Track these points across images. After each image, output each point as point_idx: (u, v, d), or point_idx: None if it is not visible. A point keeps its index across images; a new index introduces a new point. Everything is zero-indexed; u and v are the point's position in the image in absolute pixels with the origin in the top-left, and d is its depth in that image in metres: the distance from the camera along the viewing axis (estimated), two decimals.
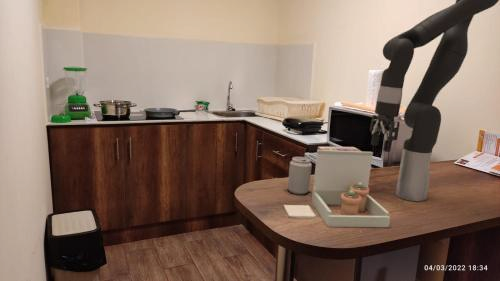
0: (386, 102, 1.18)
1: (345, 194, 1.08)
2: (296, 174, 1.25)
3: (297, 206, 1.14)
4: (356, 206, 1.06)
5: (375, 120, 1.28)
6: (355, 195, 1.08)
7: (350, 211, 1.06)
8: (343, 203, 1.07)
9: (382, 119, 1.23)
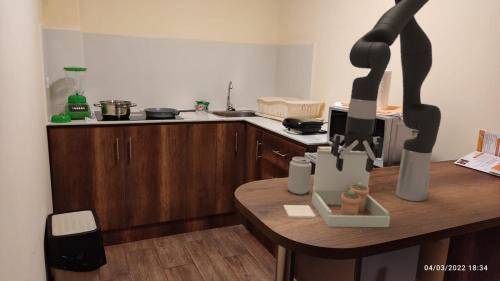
0: (374, 118, 1.01)
1: (345, 194, 1.08)
2: (296, 174, 1.25)
3: (297, 206, 1.14)
4: (356, 206, 1.06)
5: None
6: (355, 195, 1.08)
7: (350, 211, 1.06)
8: (343, 203, 1.07)
9: (360, 138, 1.03)
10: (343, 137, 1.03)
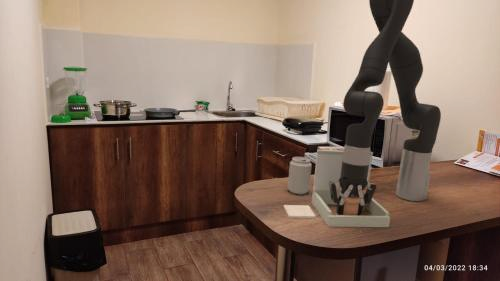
0: (368, 164, 1.03)
1: None
2: (296, 174, 1.25)
3: (297, 206, 1.14)
4: (356, 206, 1.06)
5: (336, 187, 1.06)
6: (355, 195, 1.08)
7: (351, 211, 1.06)
8: None
9: (354, 182, 1.06)
10: (338, 183, 1.06)
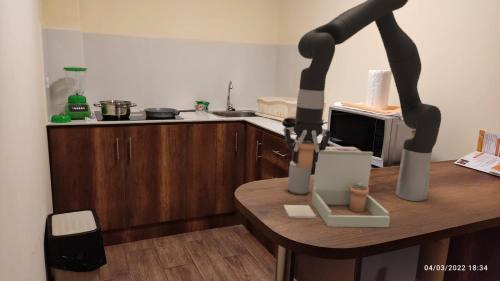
0: (322, 108, 1.02)
1: None
2: (296, 174, 1.25)
3: (297, 206, 1.14)
4: (311, 152, 1.05)
5: (291, 133, 1.05)
6: (310, 142, 1.06)
7: (305, 157, 1.05)
8: (298, 150, 1.06)
9: (309, 128, 1.05)
10: (292, 129, 1.05)
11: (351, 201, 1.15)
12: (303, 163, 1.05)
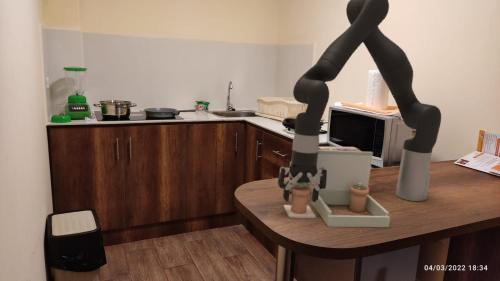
0: (317, 152, 1.05)
1: (295, 186, 1.10)
2: None
3: None
4: (305, 198, 1.08)
5: (285, 173, 1.08)
6: (304, 187, 1.10)
7: (299, 203, 1.08)
8: (292, 195, 1.09)
9: (304, 170, 1.07)
10: (288, 169, 1.08)
11: (351, 201, 1.15)
12: (298, 209, 1.09)
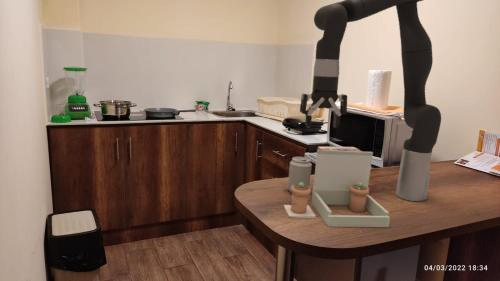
0: (337, 76, 1.09)
1: (295, 186, 1.10)
2: (296, 174, 1.25)
3: None
4: (305, 198, 1.08)
5: (308, 99, 1.11)
6: (305, 187, 1.10)
7: (299, 202, 1.08)
8: (292, 195, 1.09)
9: (325, 96, 1.11)
10: (310, 95, 1.11)
11: (351, 201, 1.15)
12: (298, 208, 1.09)
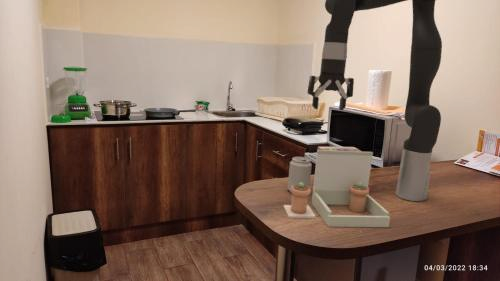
0: (345, 59, 1.13)
1: (295, 186, 1.10)
2: (296, 174, 1.25)
3: None
4: (305, 198, 1.08)
5: (315, 81, 1.16)
6: (305, 187, 1.09)
7: (299, 203, 1.08)
8: (292, 195, 1.09)
9: (333, 78, 1.15)
10: (318, 78, 1.16)
11: (351, 201, 1.15)
12: (298, 209, 1.09)
